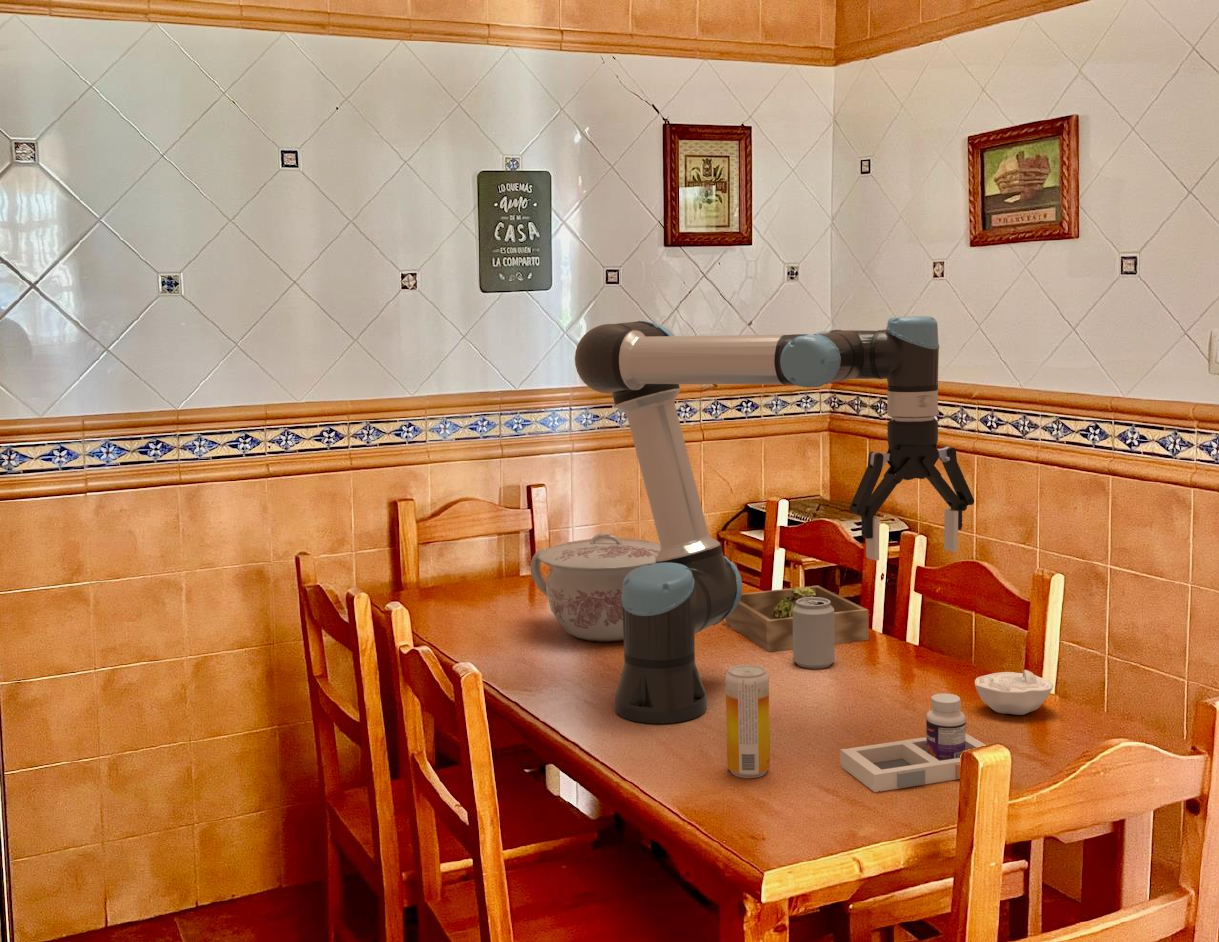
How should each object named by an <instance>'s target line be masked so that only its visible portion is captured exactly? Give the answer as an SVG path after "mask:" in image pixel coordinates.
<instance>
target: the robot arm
mask: <svg viewBox="0 0 1219 942" xmlns="http://www.w3.org/2000/svg"><path fill="white" fill-rule="evenodd" d="M938 331H939V330H938V322H937V320H936V319H935V318H934V317H933V316H926V315H925V316H923V315H921V316H919V315H918V316H917V315H916V316H892V317H890V318H888V320H887V325H886V329H878V330H863V329H862V330H858V329H857V330H854V329H853V330H851V329H849V330H845V329H844V330H842V329H834V330H833V329H831V330H825V331H819V332H816V333H805V334H804V333H802V334H801V333H798V334H746V335H745V334H736V335H728V334H726V335H675V334H674V333H673V332H672V331H671V330H670V329H669V328H667V327H666V326H664V325H663V324H661V323H657V322H651V321H645V320H637V321H631V322H620V323H619V322H618V323H605V324H601V325H598V326H595V327H593V328H591V329H590V330H588V331H587V332H586V333H585V334H583V336H582V337H581V338H580V339H579V341H578V344H577V346H576V349H575V352H574V365H575V369H576V372H577V374H578V377H579V378H580V379H581V381H582V382H583V384H585V385H586V386H587V387H588V388H589V389H592V390H593V391H596V392H599V393H600V394H611V395H612V398H613V399H612V400H613V402H614V406H615V408H616V409H617V410H619V411H621V412H622V413H624V415H626V417H627V422H628V425H629V430H630V433H631V438H632V441H633V445H634V448H635V453H636V456H637V459H638V461H637V462H638V464H639V467H640V468H639V469H640V471H641V476H642V480H643V483H644V487H645V491H646V494H647V498H648V502H649V507H650V510H651V514H652V518H653V522H654V525H655V529H656V533H657V538H658V541H659V542H658V543H659V544H660V545H661V550H660V552H659V553H658V555H657V557H656V559H655V561H656V563H654V564H652V565H644V566H641V567H639V568H636V569H634V570H632V571H631V572H629V573H628V574H627V575H626V577H625V578H624V581H623V591H622V596H621V602H622V609H623V634H624V640H623V657H624V662H623V663H624V664H623V668H622V672H621V675H620V677H619V678H620V679H619V681H618V684H617V689H616V692H615V697H614V704H615V705H614V707H615V708H614V709H615V712H616V714H617V715H618V716H620V717H622V718H624V719H627V720H629V721H633V722H637V723H643V724H644V723H645V724H675V723H680V722H686V721H690V720H692V719H696V718H699V716H701V715H703V714H704V713H705V712H706V711H707V710H708V709H707V706H708V705H707V701H708V700H707V693H706V690H705V687H704V684H703V682H702V678H701V676H700V674H699V670H698V667H697V664H696V653H695V648H696V647H695V641H696V640H695V635H696V634H697V633H699V632H701V631H703V630H706V629H707V628H709V627H712V626H715V625H718V624H719V623H721V622H723V621H724V620H726V617H727V616H729V615H730V614H731V613H732V612H733V611H734V610H735V609H736V607H737V605H738V604H739V601H740V599H741V595H742V594H743V581H742V576H741V573H740V571H739V569H738V568H737V565H736V564H735V563H734V562H733V561H730V560H729V558H728V557H727V556H725V555H724V552H723V549H722V548H723V547H722V545H721V543H720V541H719V540H716V539H715V538H713V537H711V536H710V534H709V530H708V526H707V522H706V519H705V515H704V514H705V513H704V512H703V507H702V504H701V499H700V496H699V495H700V494H699V492H698V491H699V490H698V489H697V485H696V480H695V476H694V472H693V469H692V464H691V461H690V458H689V454H688V449H687V446H686V442H685V438H684V434H683V430H682V427H681V423H680V419H679V415H678V411H677V407H676V404H675V402H676V399H677V397H678V395H679V394H680V392H681V387H680V385H773V386H774V385H776V386H777V385H778V386H779V385H782V386H783V385H787V386H797V387H802V388H819V387H822V386H824V385H827V384H828V385H829V384H834V383H837V382H844V381H848V380H872V379H873V380H874V379H875V380H885V379H886V381H887V386H886V387H887V389H886V390H887V399H886V400H887V401H886V402H887V403H886V404H887V407H886V408H887V409H886V410H887V411H886V415H887V416H888V417H890V418H891V419H889V420H888V421H887V423H886V425H887V429H886V430H887V433H886V434H887V436H886V438H887V445H888V446H887V447H888V448H887V449H888V450H887V451H886V453H882V452H876V451H870V452H869V453H868V459H867V466H866V468H865V471H864V473H863V476H862V478H861V479H860V482H859V485H858V487H857V489H856V491H855V494H854V496H853V499H852V501H851V503H850V506H849V508H848V509H849V512H850V513H853V514H855V515H859V516H860V517H861V518H860V519H861V526H860V527H861V537H862V538H865V541H866V542H865V547H866V549H865V552H866V553H865V557H866V558H867V559H870V560H872V561H874V562H876V561H880V518H879V517H878V516H877V517H876V514H877V513H878V511H879V510H880V509H881V507H882V505H883V504H884V503H885V502H886V500H887V499H888V498H889V496H890V494H892V492H893V490H894V489H895V488H896V487H897V486H898V484H900V483H902V481H903V480H906V481H910V480H911V481H912V480H915V479H917V480H924V479H925V480H926V479H927V480H928V481H929V483H930V484H931V485H932V486H933V488H934V489H935V491H937V493H938V494H939V495H940V497H941V498H942V499H943V500H944V501H945V503H946V504H947V505H948V507H949V508H944V511H943V512H944V514H943V515H944V518H943V519H944V521H943V522H944V523H943V524H944V528H943V529H944V530H943V531H944V534H943V538H944V539H943V544H944V545H943V549H944V550H945V551H947V552H949V553H953V554H954V553H956V554H957V553H958V552H959V531H961V530H962V529H963V512H965V511H966V510H967V508H968V506H972V505H974V503H975V498H974V496H973V494H972V491H971V489H970V488H969V485H968V484H967V481H966V478H965V476H964V474H963V472H962V469H961V467H960V465H959V462H958V460H957V451H956V449H955V447H950V446H946V445H944V446H942V447H940V448H938V446H937V444H938V441H939V421H937V419H935V418H934V417H936V416H938V415H939V353H940V352H939V349H940V344H939V332H938ZM938 460H939V462H941V464H942V466H943V468H944V471H945V472H946V475H947V477H948V479H949V481H950V483H951V486H952V487H951V486H950V485H949V483H947V481H946V480H945V479H944V477H943V476H942V473H941V472H940V471H939V469H938V468H937V467H936V466H935V464H937V462H938ZM886 464H888V465H889V467H888V469H887V470H886V471H885V473H884V474H883V478H882V480H881V481H880V482H879V483H878V480H879V478H880V477H881V474H882V471H883V468H884V467H885V466H886ZM877 483H878V485H877ZM876 485H877V486H876ZM875 487H876V488H875ZM952 488H953V489H952Z"/></svg>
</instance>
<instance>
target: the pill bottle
mask: <svg viewBox="0 0 1219 942" xmlns="http://www.w3.org/2000/svg"><path fill="white" fill-rule="evenodd" d="M930 700H931V704H930V705H931V708H932V709H930V710H929V711H928V712H927V713H926V717H925V719H926V721H925V725H926V728H925V729H926V730H925V731H926V735H925V737H926V752H927V753H928V754H930V755H931V756H933V757H935V758H936V759H938V760H939V761H942V760H948V759H955V758H960V755H961V753H962V752H963V751H965V734H967V731H966V730H967V726H966V721H967V720H966V715H965V714H964V712H962V711H961V706H962V705H961V704H962V703H961V702H962V701H961V697H960V696H958V695H956V694H952V693H945V692H943V693H936V694H933V695H932V696H931V699H930Z"/></svg>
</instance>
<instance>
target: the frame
mask: <svg viewBox="0 0 1219 942" xmlns="http://www.w3.org/2000/svg"><path fill="white" fill-rule="evenodd" d="M800 587H801V588H803V587H804V588H805V587H806V586H800ZM808 587H810V589H813V591H814V592H815V593H816V595H815V596H813V597H820V598H825V599H828V600H830V602H831V603H830V605H831V606H832V607H833V608H834V645H836V644H837V645H838V644H839V645H840V644H846V643H853V642H854V643H855V642H866V641H869V640H870V639H869V636H870V635H869V632H870V631H869V621H870V620H869V613H870V611H869V609H868V608H866V607H863V606H861V605H859V604H856V603H855V602H852V601H851V600H849V599H847V598H845V597H842V596H841V595H838V594H837V593H835V592H832V591H830V590H828V589H826V588H824V587H822V586H820V585H812V586H808ZM792 588H793V587H792ZM792 588H791V587H790V588H783V589H782V588H781V589H772V590H764V591H756V592H755V591H754V592H745V593H744V592H742V595H741V599H740V601H739V604H738V605H737V607H736V609H735V610H734V611H733V612H732V613H731V614H730V615H729V616H727V617H726V618H725V624H726V625H727V626H728V627H730V628H731V629H733V630H735V631H736V632H737V633H739V634H741V635H742V636H744V637H745V638H747V639H748V640H750V641H751V642H753V643H755V644H757V646H759V647H760V648H763V649H764V650H765V651H767V652H768V653H772V652H773V653H774V652H781V651H788V650H793V617H789V618H780V619H774V617H773V616H772V615H773V610H772V609H774V608H775V607H776V606H777V605H778V603H779V602H780V601H781V599H782V598H783V599H785V597H791V596H792V597H793V593H792V591H791V590H792ZM778 601H779V602H778ZM771 608H772V609H771Z"/></svg>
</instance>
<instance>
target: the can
mask: <svg viewBox="0 0 1219 942" xmlns="http://www.w3.org/2000/svg"><path fill="white" fill-rule="evenodd" d="M796 603H797V604H796V606H795V607H794V608H793V649H792V659H793V662H794V663H796V664H797V665H798V666H799V667H801V668H804V669H809V670H810V669H812V670H815V669H816V670H817V669H824V668H825V669H826V668H828V667H830V666H831V665H832V663H834V662H835V659H836V658H835V656H836V655H835V651H836V650H835V644H834V608H833V607H832V606H831V605H830V603H831V602H830V600H828V599H825V598H820V597H806V598H800V599H798V600H797V601H796Z"/></svg>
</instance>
